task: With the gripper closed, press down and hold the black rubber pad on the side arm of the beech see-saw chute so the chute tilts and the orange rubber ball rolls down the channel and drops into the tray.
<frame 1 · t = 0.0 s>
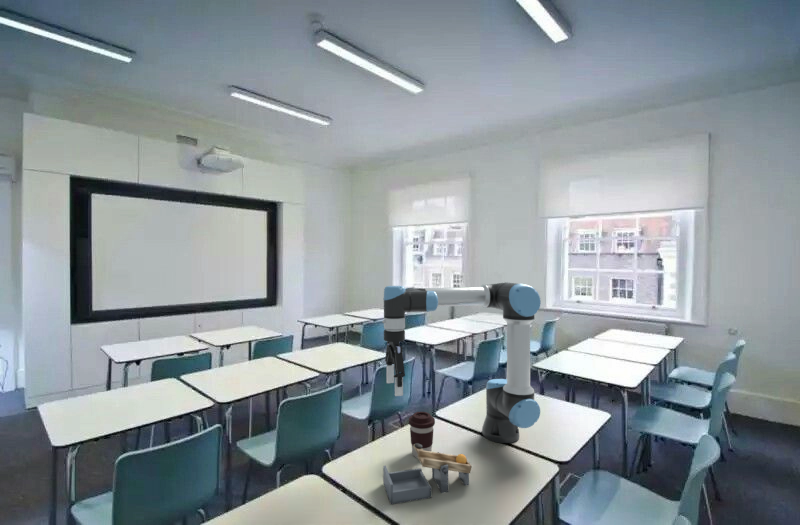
hand: (394, 389, 134), 28 cm above the table, fingers open, 13 cm apart
fulcrum: (439, 484, 124), on the table
ball: (461, 459, 126), point 7 cm above the table, tilted 16°, touching lever
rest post: (463, 480, 126), on the table
lever: (440, 455, 128), point 7 cm above the table, hinge at -15.0°, touching ball
coffee cup: (421, 454, 143), on the table
tray: (406, 490, 121), on the table
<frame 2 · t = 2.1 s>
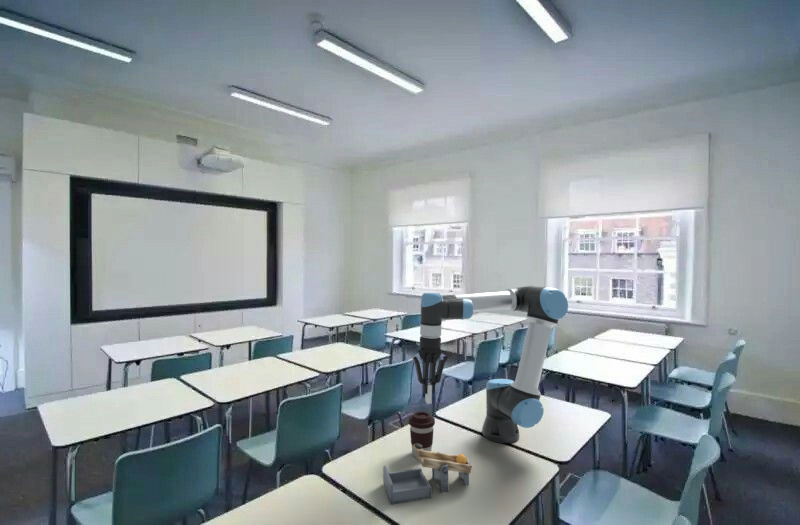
hand: (428, 402, 134), 23 cm above the table, fingers closed
nothing on the table moved.
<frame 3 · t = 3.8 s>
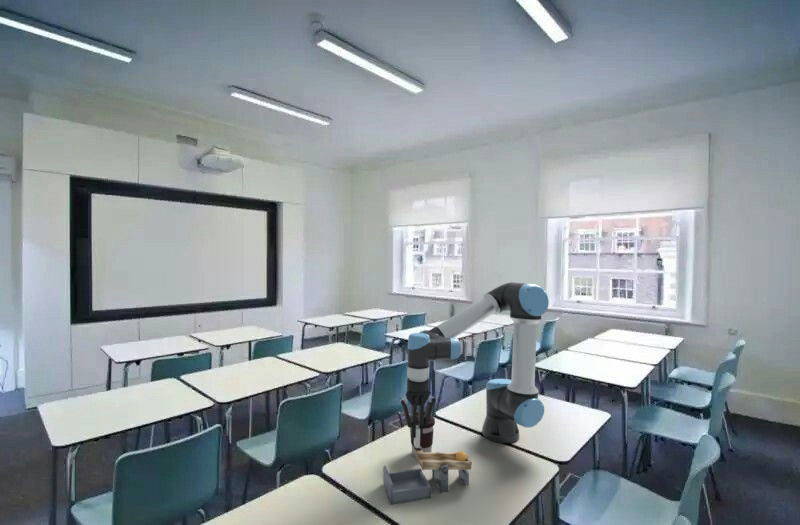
hand: (416, 446, 131), 9 cm above the table, fingers closed
ball: (461, 457, 126), point 8 cm above the table, tilted 8°, touching lever
lever: (440, 455, 128), point 8 cm above the table, hinge at -7.9°, touching ball, gripper
everything else where it was.
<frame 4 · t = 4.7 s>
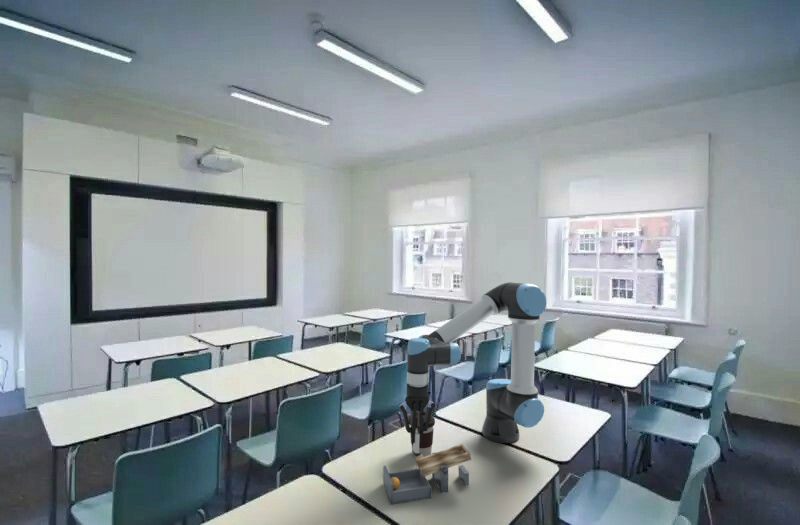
hand: (416, 451, 131), 7 cm above the table, fingers closed
ball: (394, 483, 120), point 3 cm above the table, tilted 38°
lever: (439, 454, 128), point 8 cm above the table, hinge at 11.6°, touching gripper
everything else where it was.
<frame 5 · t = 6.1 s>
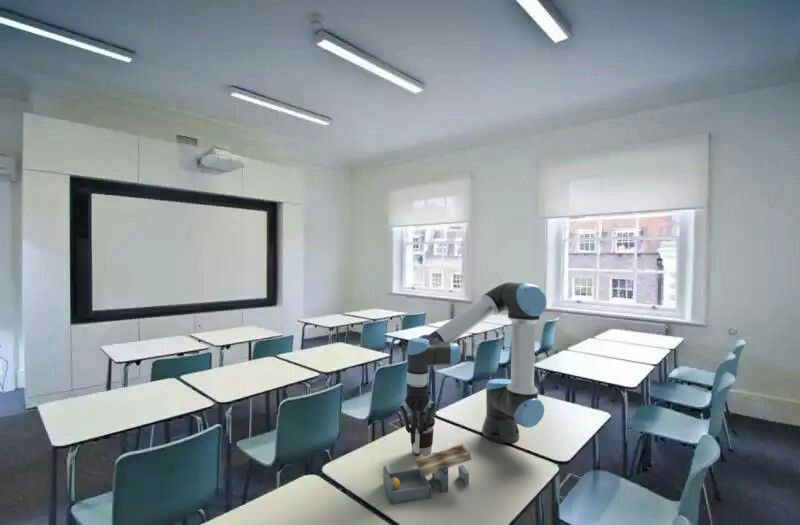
hand: (416, 451, 131), 7 cm above the table, fingers closed
ball: (394, 483, 120), point 3 cm above the table, tilted 65°, touching tray
everything else where it was.
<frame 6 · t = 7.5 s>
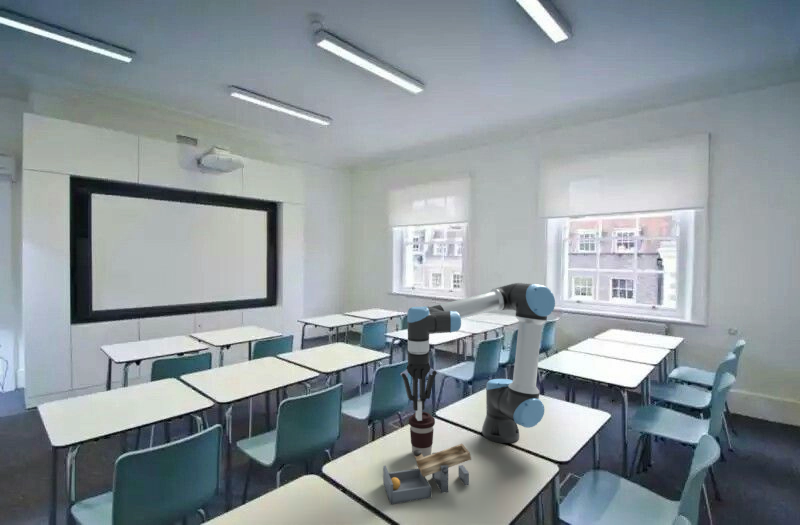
hand: (418, 419, 131), 18 cm above the table, fingers closed
lever: (439, 454, 128), point 8 cm above the table, hinge at 11.8°
everything else where it was.
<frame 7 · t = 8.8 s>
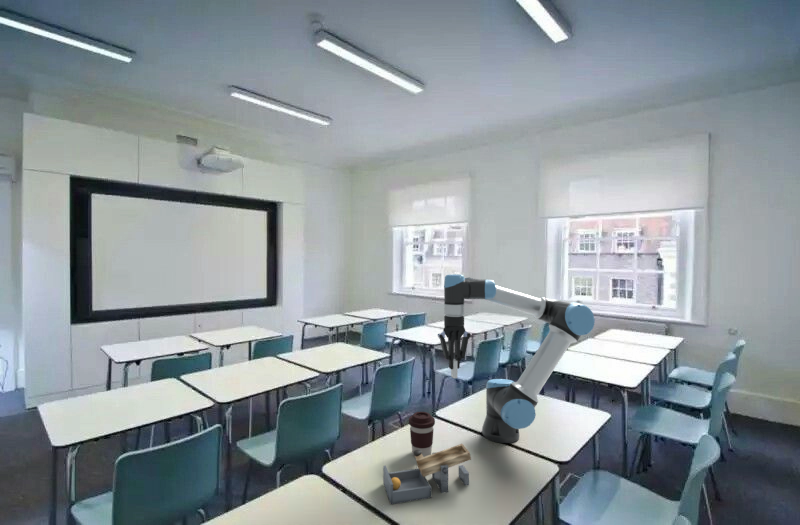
hand: (454, 377, 143), 29 cm above the table, fingers closed
nothing on the table moved.
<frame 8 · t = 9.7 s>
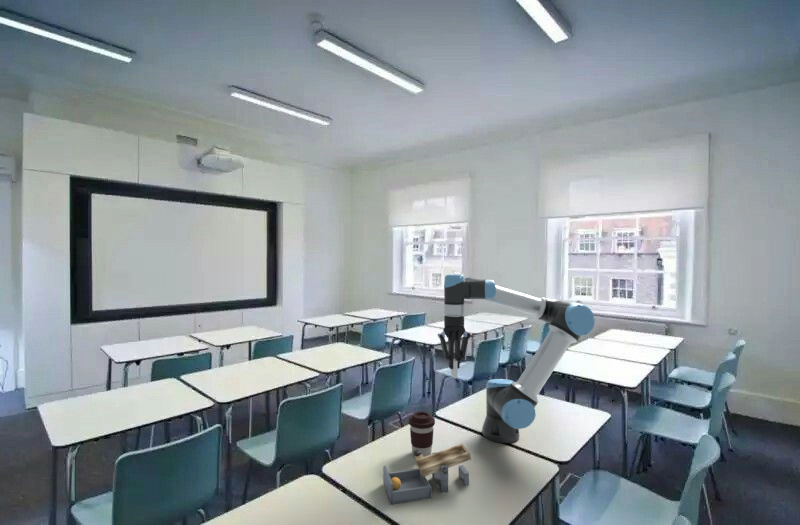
hand: (454, 377, 143), 29 cm above the table, fingers closed
nothing on the table moved.
at the end: ball inside the target area on the tray (3.6 cm from its centre), point 2.5 cm above the tray's base; ball touching tray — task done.
